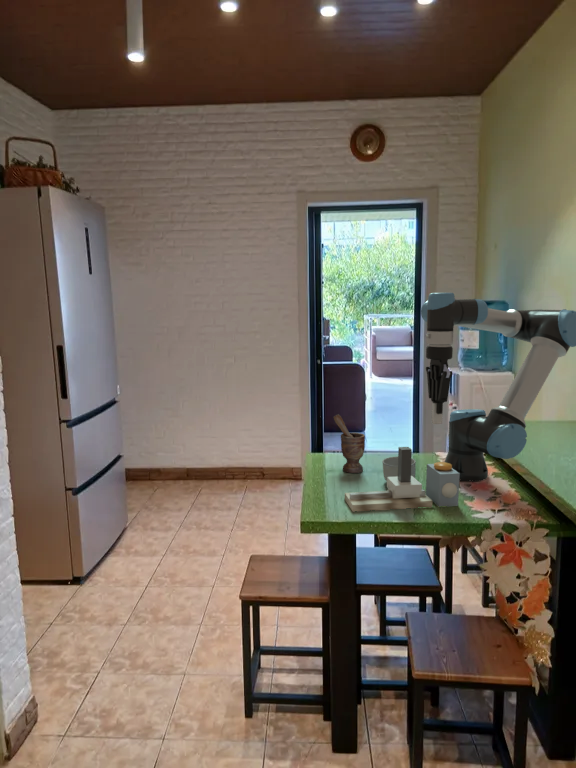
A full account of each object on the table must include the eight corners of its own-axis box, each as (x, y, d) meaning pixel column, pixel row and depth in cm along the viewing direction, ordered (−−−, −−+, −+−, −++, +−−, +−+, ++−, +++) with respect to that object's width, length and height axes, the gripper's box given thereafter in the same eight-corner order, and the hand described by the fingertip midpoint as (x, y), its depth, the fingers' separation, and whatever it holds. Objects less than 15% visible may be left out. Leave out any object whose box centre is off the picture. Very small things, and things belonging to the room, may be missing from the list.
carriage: (411, 489, 164) (413, 444, 162) (421, 498, 156) (423, 451, 154) (386, 490, 163) (387, 445, 161) (395, 500, 155) (396, 452, 153)
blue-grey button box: (444, 493, 167) (445, 463, 165) (458, 506, 156) (460, 473, 155) (425, 494, 166) (426, 464, 164) (439, 507, 156) (440, 474, 154)
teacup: (411, 490, 170) (412, 466, 168) (378, 486, 174) (378, 462, 173) (419, 478, 182) (420, 455, 181) (388, 473, 187) (389, 451, 185)
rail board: (419, 495, 166) (419, 484, 165) (432, 507, 156) (432, 495, 155) (344, 499, 163) (344, 488, 162) (352, 511, 153) (352, 500, 152)
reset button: (446, 483, 164) (447, 461, 163) (453, 489, 159) (454, 466, 158) (430, 484, 163) (431, 462, 162) (437, 490, 158) (438, 467, 157)
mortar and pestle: (330, 472, 188) (331, 417, 185) (333, 465, 196) (333, 412, 193) (363, 474, 186) (364, 419, 183) (364, 467, 194) (365, 413, 191)
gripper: (418, 344, 162) (416, 419, 166) (437, 347, 149) (434, 429, 153) (441, 343, 163) (438, 418, 167) (462, 347, 151) (459, 427, 154)
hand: (436, 423), depth 160 cm, fingers closed
